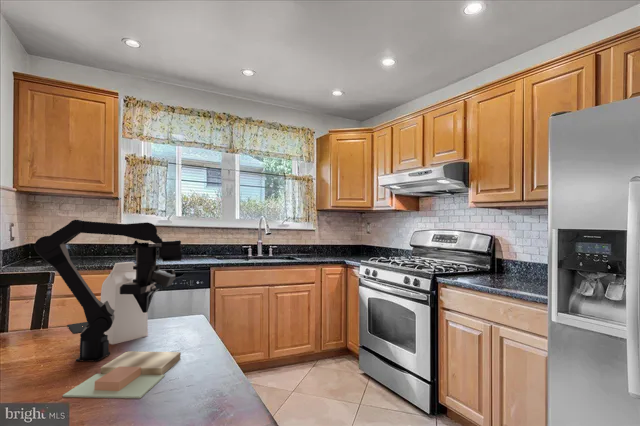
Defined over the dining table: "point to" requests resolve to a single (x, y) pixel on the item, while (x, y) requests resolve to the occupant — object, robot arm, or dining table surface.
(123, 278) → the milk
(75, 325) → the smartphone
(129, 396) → the mat
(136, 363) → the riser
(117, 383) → the tile
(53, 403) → the dining table surface
